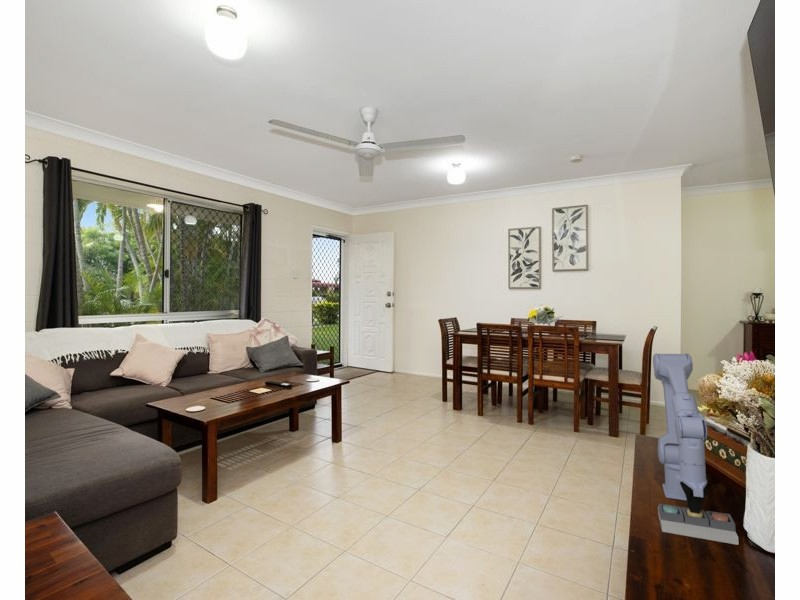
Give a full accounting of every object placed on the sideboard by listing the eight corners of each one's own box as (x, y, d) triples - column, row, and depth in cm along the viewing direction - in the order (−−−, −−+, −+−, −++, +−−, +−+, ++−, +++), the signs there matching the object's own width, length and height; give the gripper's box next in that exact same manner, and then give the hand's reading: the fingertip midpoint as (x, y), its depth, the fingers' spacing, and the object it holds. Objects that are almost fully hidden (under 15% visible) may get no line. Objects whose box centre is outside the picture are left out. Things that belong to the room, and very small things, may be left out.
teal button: (662, 511, 116) (662, 504, 116) (677, 513, 115) (676, 506, 115) (664, 516, 113) (663, 509, 113) (679, 519, 112) (678, 512, 112)
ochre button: (686, 514, 114) (685, 507, 114) (701, 517, 112) (701, 509, 112) (688, 520, 111) (688, 513, 111) (704, 523, 109) (703, 516, 109)
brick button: (710, 518, 111) (710, 511, 111) (726, 520, 110) (726, 513, 110) (713, 524, 108) (713, 517, 108) (730, 527, 107) (729, 520, 107)
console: (658, 513, 119) (657, 499, 119) (728, 524, 112) (727, 509, 112) (662, 531, 110) (661, 516, 110) (738, 544, 103) (737, 528, 103)
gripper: (670, 450, 120) (673, 497, 120) (678, 469, 107) (681, 522, 107) (700, 453, 116) (702, 501, 116) (712, 473, 104) (715, 528, 103)
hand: (694, 512), depth 111 cm, fingers closed, pressing on ochre button
